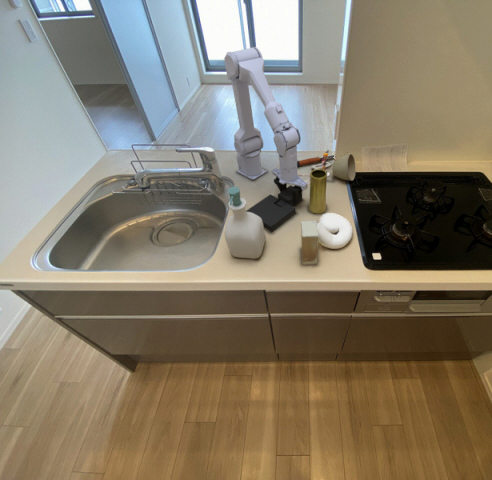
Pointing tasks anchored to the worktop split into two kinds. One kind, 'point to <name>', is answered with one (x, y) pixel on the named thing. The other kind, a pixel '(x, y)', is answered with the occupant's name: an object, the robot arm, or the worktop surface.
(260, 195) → the worktop surface
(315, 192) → the vase
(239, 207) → the soap bottle
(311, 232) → the cosmetic box
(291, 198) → the black block with stub
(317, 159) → the knife
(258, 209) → the base pad
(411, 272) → the worktop surface
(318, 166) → the soap
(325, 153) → the action figure
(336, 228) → the sculpture
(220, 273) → the worktop surface
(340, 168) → the cup
